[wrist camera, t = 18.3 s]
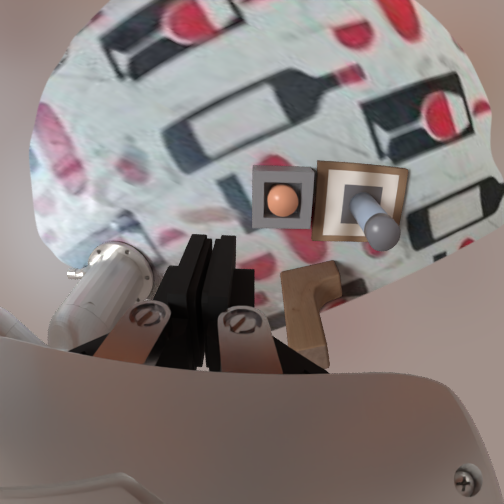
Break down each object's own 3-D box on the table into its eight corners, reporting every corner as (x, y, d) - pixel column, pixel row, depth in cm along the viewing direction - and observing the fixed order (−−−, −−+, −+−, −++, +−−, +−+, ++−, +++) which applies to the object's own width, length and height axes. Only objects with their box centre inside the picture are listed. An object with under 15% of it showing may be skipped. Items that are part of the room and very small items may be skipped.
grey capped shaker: (345, 215, 44) (364, 248, 35) (352, 189, 41) (374, 216, 33) (371, 220, 44) (393, 253, 35) (378, 194, 42) (404, 222, 33)
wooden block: (333, 258, 48) (365, 335, 32) (337, 281, 50) (365, 360, 34) (279, 271, 49) (288, 353, 33) (285, 293, 51) (294, 376, 35)
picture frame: (311, 237, 47) (312, 241, 46) (317, 160, 41) (318, 162, 40) (393, 239, 46) (395, 242, 45) (405, 168, 41) (408, 170, 40)
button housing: (252, 218, 45) (252, 228, 42) (252, 165, 41) (252, 170, 38) (306, 219, 45) (310, 228, 42) (310, 166, 41) (314, 172, 38)
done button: (266, 209, 43) (267, 216, 41) (267, 182, 41) (268, 187, 39) (295, 210, 43) (297, 216, 41) (296, 183, 41) (299, 188, 39)
